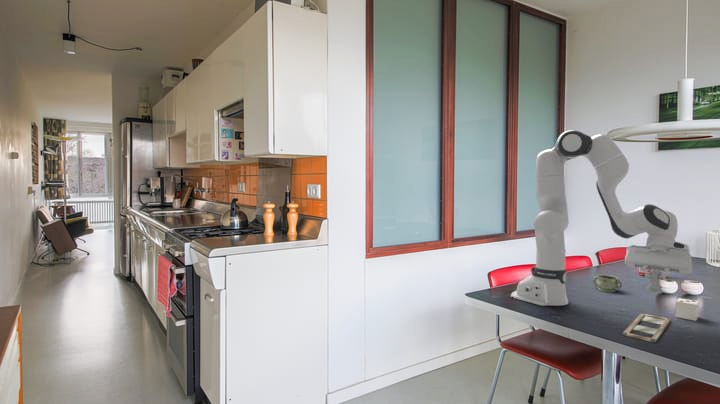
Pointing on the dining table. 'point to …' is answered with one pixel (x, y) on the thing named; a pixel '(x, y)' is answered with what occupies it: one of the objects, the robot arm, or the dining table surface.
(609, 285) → the vessel
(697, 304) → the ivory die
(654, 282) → the rook chess piece
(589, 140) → the robot arm
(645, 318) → the track board
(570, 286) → the dining table surface
